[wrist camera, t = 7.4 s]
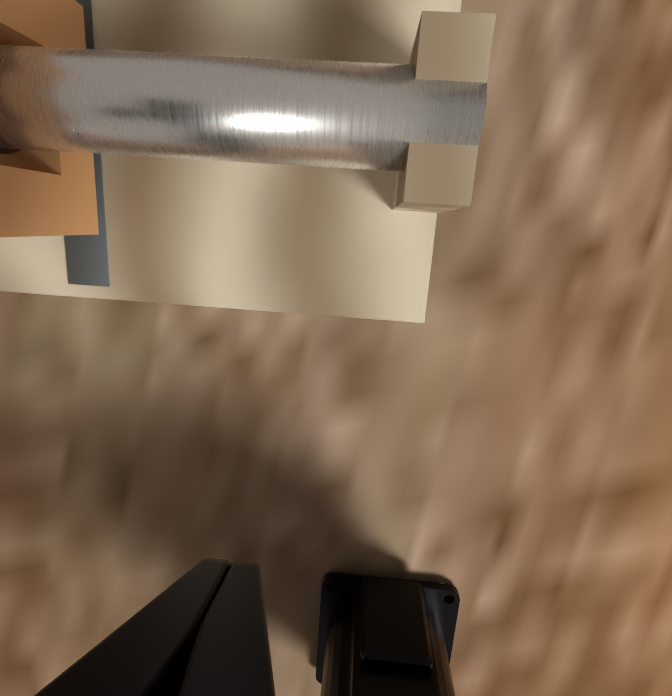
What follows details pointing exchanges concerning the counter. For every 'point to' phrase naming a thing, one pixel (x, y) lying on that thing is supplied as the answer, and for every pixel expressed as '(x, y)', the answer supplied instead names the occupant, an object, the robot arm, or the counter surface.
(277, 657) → the counter surface
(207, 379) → the counter surface
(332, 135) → the pipe
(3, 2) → the slotted orange block
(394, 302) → the stand
